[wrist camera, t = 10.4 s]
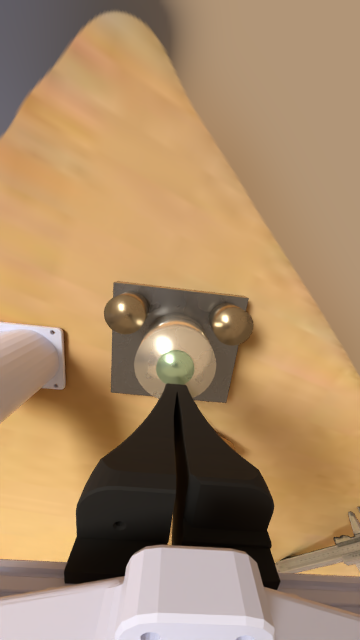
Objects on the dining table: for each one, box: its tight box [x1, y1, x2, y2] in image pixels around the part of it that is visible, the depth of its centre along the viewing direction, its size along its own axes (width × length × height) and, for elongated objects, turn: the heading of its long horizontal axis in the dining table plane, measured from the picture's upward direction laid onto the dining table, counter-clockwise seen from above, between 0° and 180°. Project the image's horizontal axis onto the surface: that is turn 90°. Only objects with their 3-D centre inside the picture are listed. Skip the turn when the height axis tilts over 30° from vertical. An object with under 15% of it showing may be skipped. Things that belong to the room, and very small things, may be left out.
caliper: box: [275, 507, 360, 573], centre depth 30 cm, size 20×1×6 cm, turn 142°
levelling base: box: [104, 281, 253, 403], centre depth 21 cm, size 17×25×7 cm
